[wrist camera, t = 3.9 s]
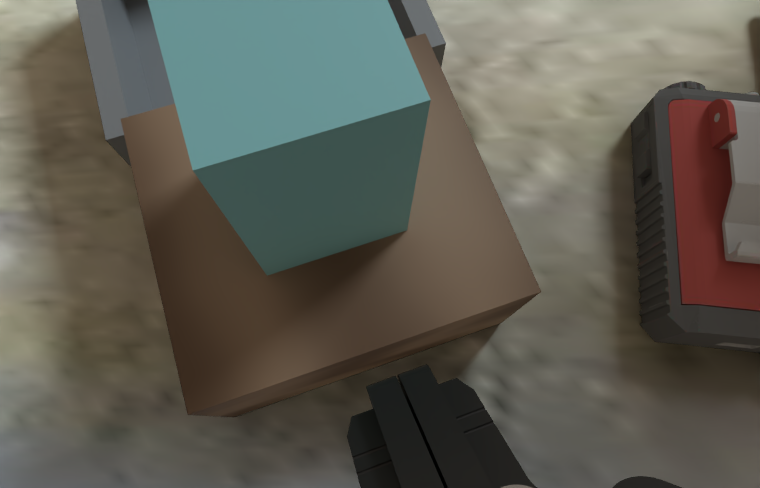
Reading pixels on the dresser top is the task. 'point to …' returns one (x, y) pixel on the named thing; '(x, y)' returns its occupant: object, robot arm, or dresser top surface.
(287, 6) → the block
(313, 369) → the brown box
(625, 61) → the dresser top surface
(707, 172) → the walkie-talkie
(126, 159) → the box
